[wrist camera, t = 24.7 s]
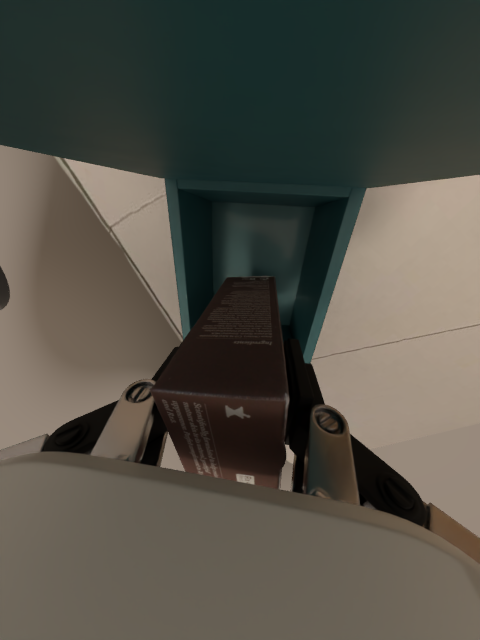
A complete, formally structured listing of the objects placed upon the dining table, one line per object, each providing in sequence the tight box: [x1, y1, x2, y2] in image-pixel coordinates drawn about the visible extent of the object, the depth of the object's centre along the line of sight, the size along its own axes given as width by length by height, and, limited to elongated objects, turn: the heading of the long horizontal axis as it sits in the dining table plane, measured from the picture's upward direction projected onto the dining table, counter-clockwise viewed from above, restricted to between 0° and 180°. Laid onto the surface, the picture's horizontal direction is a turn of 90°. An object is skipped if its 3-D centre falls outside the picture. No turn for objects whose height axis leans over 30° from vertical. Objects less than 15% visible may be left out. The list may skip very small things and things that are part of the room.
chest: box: [165, 178, 366, 364], centre depth 18 cm, size 15×12×9 cm
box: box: [150, 276, 289, 489], centre depth 11 cm, size 6×4×12 cm
